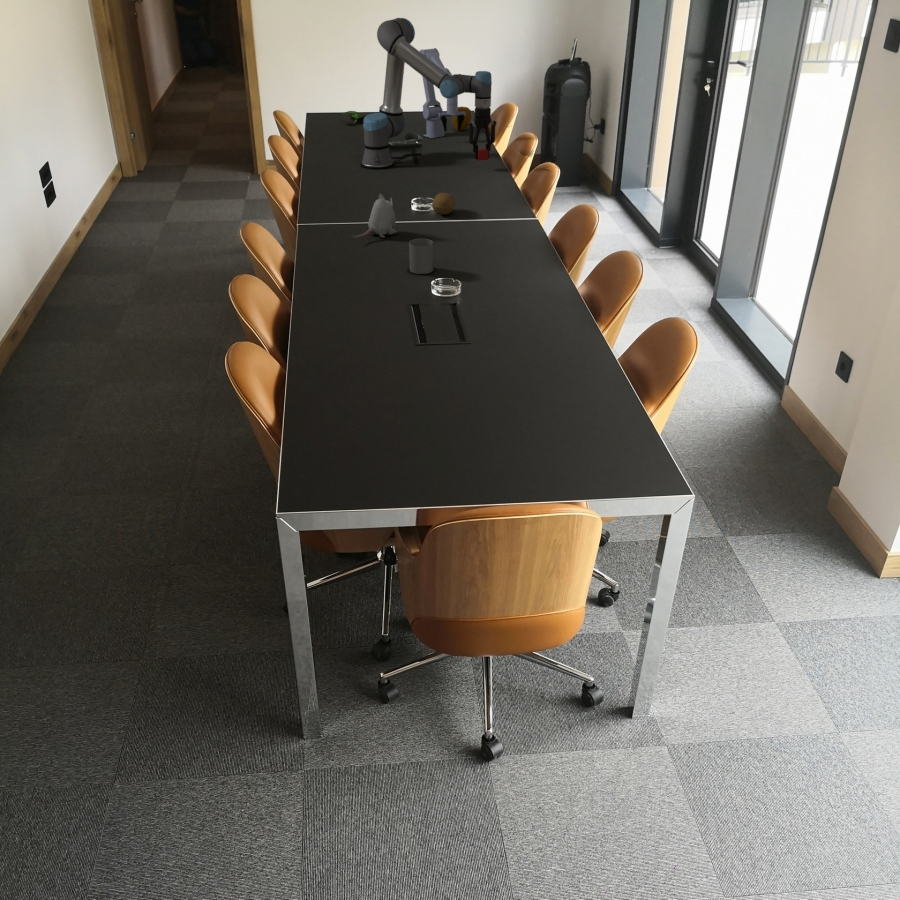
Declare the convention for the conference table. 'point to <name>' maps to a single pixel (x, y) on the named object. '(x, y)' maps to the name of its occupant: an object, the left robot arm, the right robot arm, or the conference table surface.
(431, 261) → the cup
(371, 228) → the toy
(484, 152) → the brick
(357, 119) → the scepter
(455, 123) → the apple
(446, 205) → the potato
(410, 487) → the conference table surface
